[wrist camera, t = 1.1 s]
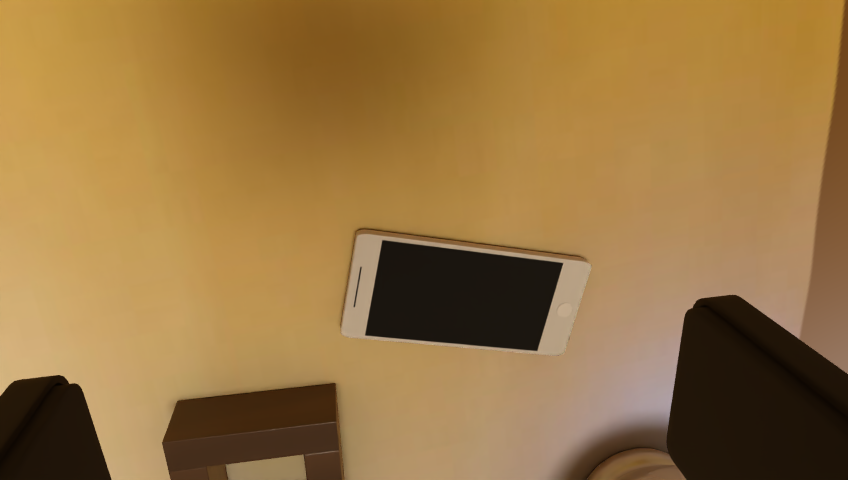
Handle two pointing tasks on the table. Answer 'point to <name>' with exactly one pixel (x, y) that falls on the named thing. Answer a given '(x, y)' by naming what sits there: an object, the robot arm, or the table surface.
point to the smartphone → (461, 294)
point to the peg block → (255, 432)
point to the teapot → (638, 466)
